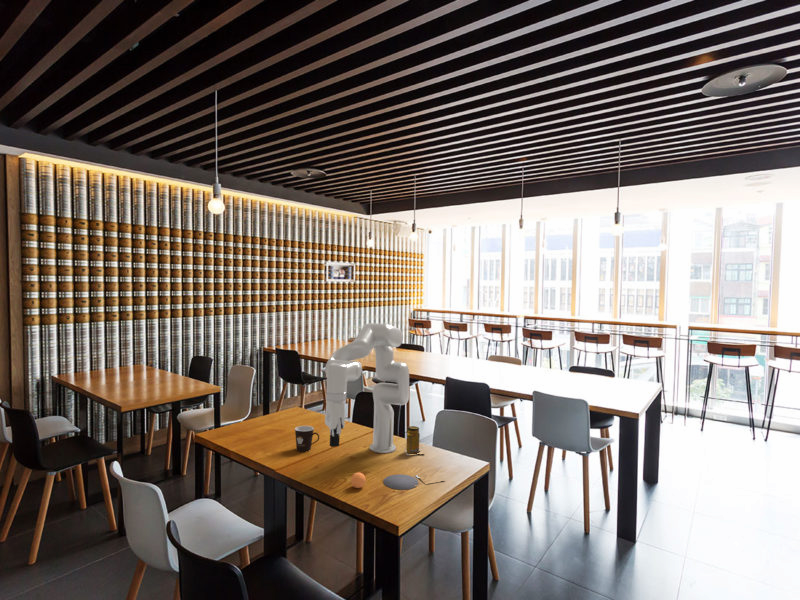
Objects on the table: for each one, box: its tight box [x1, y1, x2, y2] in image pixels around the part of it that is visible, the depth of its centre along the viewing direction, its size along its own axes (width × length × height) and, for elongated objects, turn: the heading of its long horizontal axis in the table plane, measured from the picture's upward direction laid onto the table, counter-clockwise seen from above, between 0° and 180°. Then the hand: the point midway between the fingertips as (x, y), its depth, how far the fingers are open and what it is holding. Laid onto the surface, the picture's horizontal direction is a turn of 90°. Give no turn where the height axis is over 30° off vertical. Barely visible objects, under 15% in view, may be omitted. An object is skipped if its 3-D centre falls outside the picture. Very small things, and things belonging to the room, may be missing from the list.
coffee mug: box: [294, 425, 320, 453], centre depth 202 cm, size 12×9×10 cm
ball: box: [350, 471, 367, 489], centre depth 164 cm, size 6×6×6 cm
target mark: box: [383, 473, 420, 491], centre depth 170 cm, size 14×14×1 cm
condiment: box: [404, 425, 420, 456], centre depth 204 cm, size 7×8×12 cm
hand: (334, 445), depth 161 cm, fingers closed
